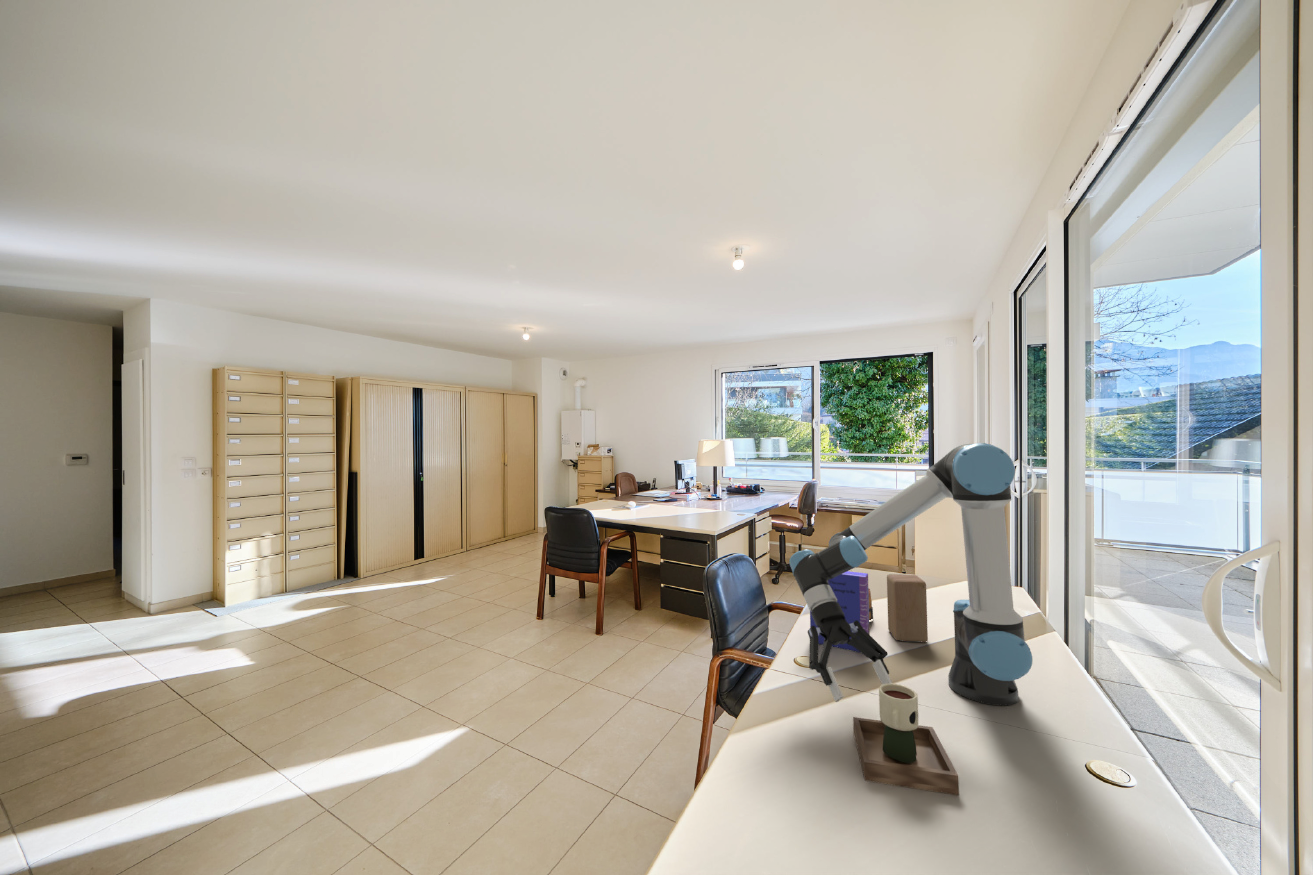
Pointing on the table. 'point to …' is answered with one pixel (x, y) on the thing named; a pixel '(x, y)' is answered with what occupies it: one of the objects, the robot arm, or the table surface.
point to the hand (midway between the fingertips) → (865, 695)
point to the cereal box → (850, 602)
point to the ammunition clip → (870, 606)
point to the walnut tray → (921, 774)
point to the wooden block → (907, 607)
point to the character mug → (899, 721)
